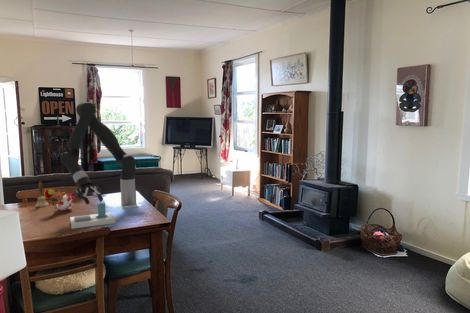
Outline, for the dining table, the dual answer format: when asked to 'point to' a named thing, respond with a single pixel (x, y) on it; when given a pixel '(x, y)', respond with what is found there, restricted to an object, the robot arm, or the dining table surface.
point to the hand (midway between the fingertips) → (95, 202)
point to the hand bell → (41, 197)
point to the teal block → (101, 210)
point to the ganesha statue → (59, 199)
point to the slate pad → (82, 218)
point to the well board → (93, 221)
